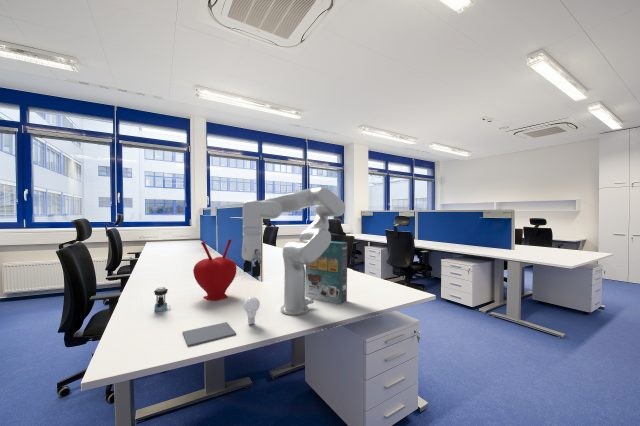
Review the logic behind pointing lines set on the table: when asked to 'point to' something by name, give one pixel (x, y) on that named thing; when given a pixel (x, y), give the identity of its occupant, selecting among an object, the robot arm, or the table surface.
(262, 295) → the table surface
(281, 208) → the robot arm
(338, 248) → the cake mix box
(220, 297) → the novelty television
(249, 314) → the lightbulb
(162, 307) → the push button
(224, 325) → the desk mat
